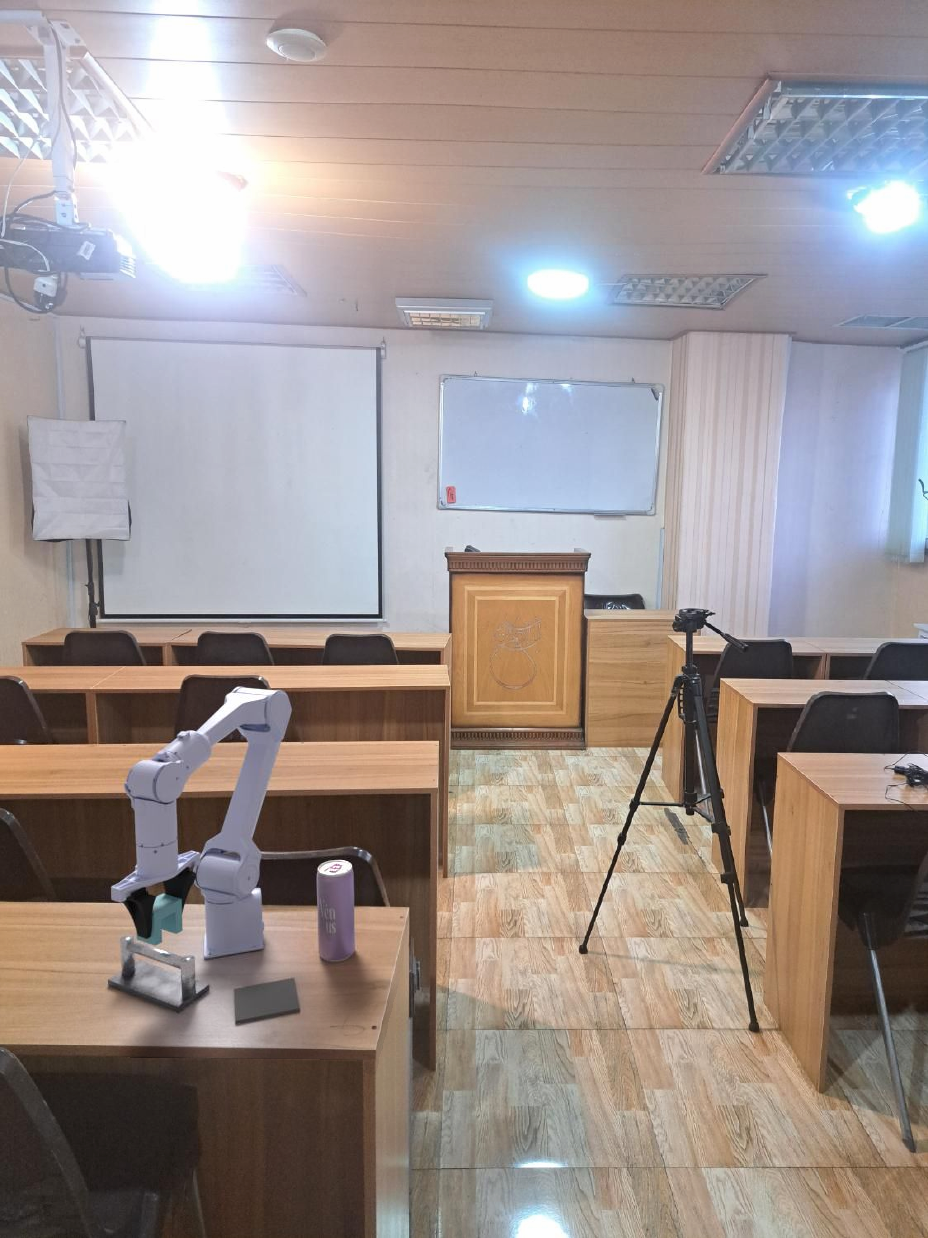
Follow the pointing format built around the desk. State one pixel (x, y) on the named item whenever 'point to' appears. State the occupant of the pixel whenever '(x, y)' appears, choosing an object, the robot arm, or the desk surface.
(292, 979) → the mat
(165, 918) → the teal block
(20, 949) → the desk surface
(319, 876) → the beverage can
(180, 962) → the stand
